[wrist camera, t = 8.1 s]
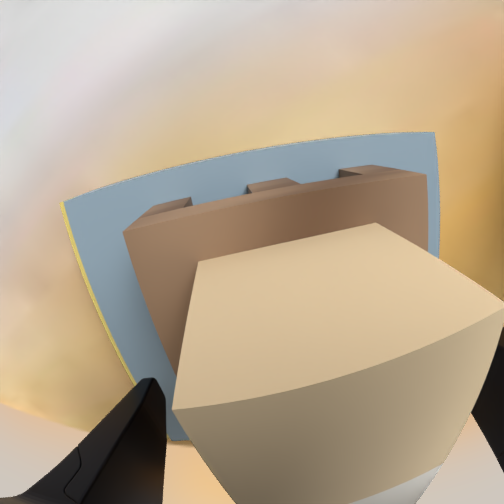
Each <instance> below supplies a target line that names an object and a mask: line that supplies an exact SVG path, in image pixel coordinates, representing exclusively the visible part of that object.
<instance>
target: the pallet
mask: <svg viewBox="0 0 504 504" xmlns="http://www.w3.org/2000/svg"><path fill="white" fill-rule="evenodd" d="M339 176H340V178H335V179H329V180H323V181H317V182H311V183H305V184H300V183H298V182H295V181H293V180H291V179H289V178H287V177H286V178H280V179H274V180H269V181H264V182H258V183H253V184H248V185H247V188H248V193H249V194H245V195H240V196H235V197H230V198H226V199H221V200H216V201H211V202H207V203H202V204H198V205H193V203H192V199H191V197H187V198H183V199H178V200H174V201H170V202H166V203H162V204H158V205H154V206H152V207H151V208H150V209H149V210H147V211H146V212H145V213H144V214H143V215H141V216H140V217H139V218H138V219H137V220H135V221H134V222H133V223H132V224H131V225H130V226H128V227H127V228H126V229H125V230H124V231H123V232H122V233H123V236H124V239H125V243H126V246H127V249H128V252H129V256H130V259H131V262H132V265H133V268H134V271H135V274H136V277H137V280H138V283H139V285H140V288H141V291H142V294H143V297H144V299H145V302H146V305H147V307H148V310H149V313H150V315H151V318H152V321H153V323H154V326H155V328H156V331H157V333H158V336H159V338H160V340H161V343H162V345H163V348H164V350H165V352H166V355H167V357H168V359H169V362H170V364H171V366H172V368H173V371H174V373H175V375H176V377H177V372H178V366H179V360H180V354H181V349H182V343H183V337H184V332H185V326H186V321H187V316H188V310H189V305H190V300H191V295H192V290H193V285H194V280H195V275H196V270H197V266H198V262H199V261H203V260H208V259H212V258H217V257H221V256H226V255H231V254H235V253H240V252H244V251H249V250H253V249H258V248H262V247H267V246H271V245H276V244H281V243H285V242H290V241H294V240H299V239H303V238H308V237H313V236H317V235H322V234H326V233H331V232H335V231H340V230H345V229H349V228H354V227H358V226H363V225H368V224H372V223H378V224H379V225H381V226H383V227H385V228H387V229H388V230H390V231H392V232H394V233H396V234H397V235H399V236H401V237H403V238H404V239H406V240H408V241H410V242H411V243H413V244H415V245H417V246H418V247H420V248H422V249H423V250H425V251H427V252H428V190H427V174H422V173H417V172H412V171H406V170H401V169H395V168H389V167H383V166H377V165H365V166H357V167H350V168H343V169H339Z"/></svg>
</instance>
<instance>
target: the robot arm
mask: <svg viewBox="0 0 504 504" xmlns="http://www.w3.org/2000/svg"><path fill="white" fill-rule="evenodd" d="M471 414H472V415H473V417H474V418H475V420H476V422H477V424H478V425H479V427H480V429H481V431H482V432H483V434H484V436H485V438H486V440H487V441H488V443H489V445H490V447H491V448H492V451H493V452H494V454H495V456H496V458H498V459H497V460H498V462H499V464H500V466H501V468H502V470H503V472H504V327H503V328H502V331H501V335H500V338H499V341H498V344H497V348H496V351H495V354H494V357H493V360H492V362H491V365H490V368H489V371H488V373H487V376H486V379H485V381H484V384H483V386H482V389H481V391H480V393H479V396H478V398H477V400H476V402H475V405H474V407H473V409H472V411H471ZM166 445H167V428H166V398H165V395H164V393H163V391H162V389H161V387H160V385H159V383H158V381H157V380H156V379H155V378H154V377H149V378H143V379H141V380H140V381H139V382H138V383H137V384H136V385H135V386H134V387H133V388H132V390H131V391H130V392H129V393H128V394H127V395H126V396H125V397H124V398H123V399H122V400H121V401H120V402H119V403H118V404H117V405H116V406H115V407H114V408H113V409H112V410H111V411H110V412H109V413H108V414H107V416H106V417H105V418H104V419H103V420H102V421H101V422H100V423H99V424H98V425H97V426H96V427H95V428H94V429H93V430H92V431H91V432H90V433H89V434H88V435H87V437H85V438H84V440H82V441H81V443H79V444H78V447H76V448H75V449H73V451H72V452H71V453H70V454H69V455H68V456H67V457H65V459H63V460H62V461H61V462H60V463H59V464H58V465H57V466H56V467H55V468H53V469H52V470H51V471H50V472H49V473H48V474H46V475H45V476H44V477H43V478H42V479H40V480H39V481H38V482H37V483H36V484H34V485H33V486H32V487H31V488H29V489H28V490H27V491H25V492H24V493H22V494H20V495H17V496H14V497H6V498H0V504H162V500H163V484H164V469H165V457H166Z"/></svg>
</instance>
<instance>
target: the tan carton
mask: <svg viewBox="0 0 504 504" xmlns="http://www.w3.org/2000/svg"><path fill="white" fill-rule="evenodd" d="M503 324H504V302H503V301H502V300H501V299H499V298H498V297H496V296H495V295H493V294H492V293H491V292H489V291H488V290H486V289H485V288H483V287H482V286H480V285H479V284H477V283H476V282H474V281H473V280H471V279H470V278H468V277H467V276H465V275H464V274H462V273H460V272H459V271H457V270H456V269H454V268H453V267H451V266H449V265H448V264H446V263H445V262H443V261H441V260H440V259H438V258H437V257H435V256H433V255H432V254H430V253H428V252H427V251H425V250H423V249H422V248H420V247H418V246H417V245H415V244H413V243H411V242H410V241H408V240H406V239H404V238H403V237H401V236H399V235H397V234H396V233H394V232H392V231H390V230H388V229H387V228H385V227H383V226H381V225H379V224H378V223H372V224H368V225H363V226H358V227H354V228H349V229H345V230H340V231H335V232H331V233H326V234H322V235H317V236H313V237H308V238H303V239H299V240H294V241H290V242H285V243H281V244H276V245H271V246H267V247H262V248H258V249H253V250H249V251H244V252H240V253H235V254H231V255H226V256H221V257H217V258H212V259H208V260H203V261H199V262H198V266H197V270H196V275H195V280H194V285H193V290H192V295H191V300H190V305H189V310H188V316H187V321H186V326H185V332H184V337H183V343H182V349H181V354H180V360H179V366H178V372H177V379H176V385H175V391H174V398H173V405H172V411H173V413H174V415H175V416H176V418H177V420H178V421H179V423H180V425H181V426H182V428H183V429H184V431H185V433H186V434H187V436H188V437H189V439H190V441H191V442H192V444H193V445H194V447H195V448H196V450H197V451H198V453H199V454H200V456H201V457H202V459H203V460H204V462H205V463H206V464H207V466H208V467H209V469H210V470H211V472H212V473H213V474H214V475H215V477H216V478H217V480H218V481H219V483H220V484H221V485H222V486H223V488H224V489H225V491H226V492H227V493H228V494H229V495H230V497H231V498H232V500H233V501H234V502H235V503H236V504H349V503H352V502H355V501H358V500H361V499H364V498H367V497H370V496H373V495H375V494H378V493H380V492H383V491H386V490H388V489H391V488H393V487H395V486H398V485H400V484H402V483H405V482H407V481H409V480H411V479H413V478H415V477H417V476H420V475H422V474H424V473H426V472H428V471H430V470H432V469H433V468H435V467H437V466H439V465H441V464H443V463H444V461H445V460H446V458H447V456H448V455H449V453H450V451H451V450H452V448H453V446H454V444H455V442H456V441H457V438H458V437H459V435H460V433H461V431H462V429H463V427H464V425H465V424H466V422H467V420H468V417H469V415H470V413H471V411H472V409H473V407H474V405H475V402H476V400H477V398H478V396H479V393H480V391H481V389H482V386H483V384H484V381H485V379H486V376H487V373H488V371H489V368H490V365H491V362H492V360H493V357H494V354H495V351H496V348H497V344H498V341H499V338H500V335H501V331H502V328H503Z"/></svg>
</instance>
